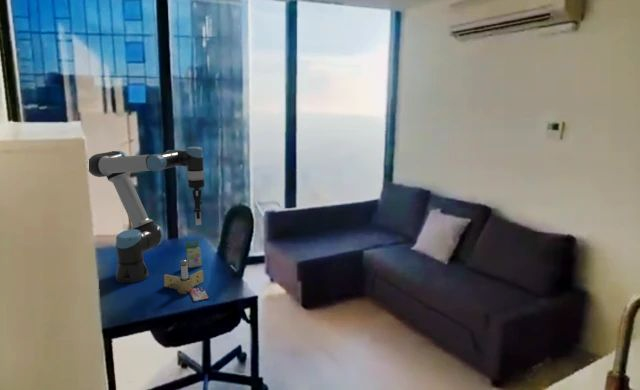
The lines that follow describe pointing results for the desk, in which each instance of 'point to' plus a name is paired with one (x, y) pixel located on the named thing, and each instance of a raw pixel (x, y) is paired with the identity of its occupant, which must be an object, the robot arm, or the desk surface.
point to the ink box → (193, 255)
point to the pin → (184, 270)
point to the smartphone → (199, 294)
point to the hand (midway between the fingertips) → (198, 221)
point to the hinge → (183, 282)
